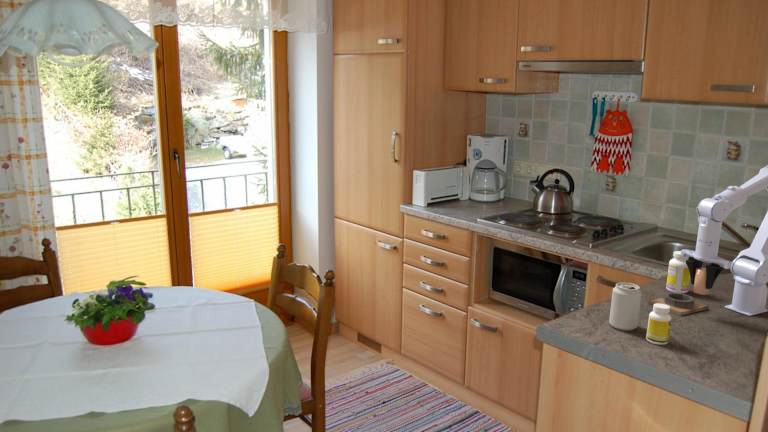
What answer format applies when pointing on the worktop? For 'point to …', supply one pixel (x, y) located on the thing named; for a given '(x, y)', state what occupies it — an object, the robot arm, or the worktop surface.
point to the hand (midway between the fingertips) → (701, 286)
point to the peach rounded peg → (700, 281)
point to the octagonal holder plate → (680, 303)
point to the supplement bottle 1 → (659, 324)
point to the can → (625, 306)
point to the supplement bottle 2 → (678, 274)
